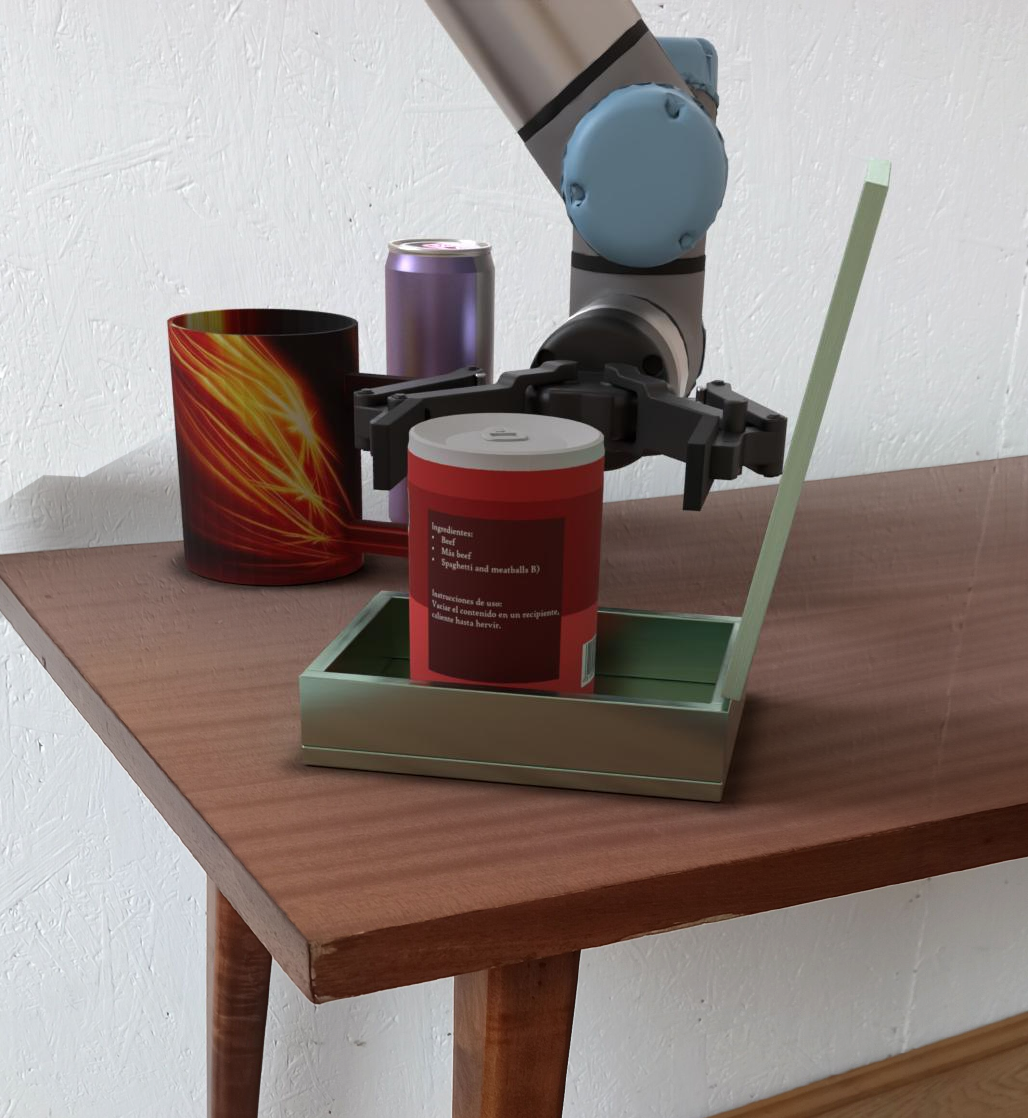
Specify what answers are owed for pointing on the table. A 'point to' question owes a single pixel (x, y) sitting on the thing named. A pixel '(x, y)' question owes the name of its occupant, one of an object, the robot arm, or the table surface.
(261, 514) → the mug
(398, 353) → the beverage can
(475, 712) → the green open box
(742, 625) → the pale green long bar
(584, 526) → the canned food
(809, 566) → the table surface
